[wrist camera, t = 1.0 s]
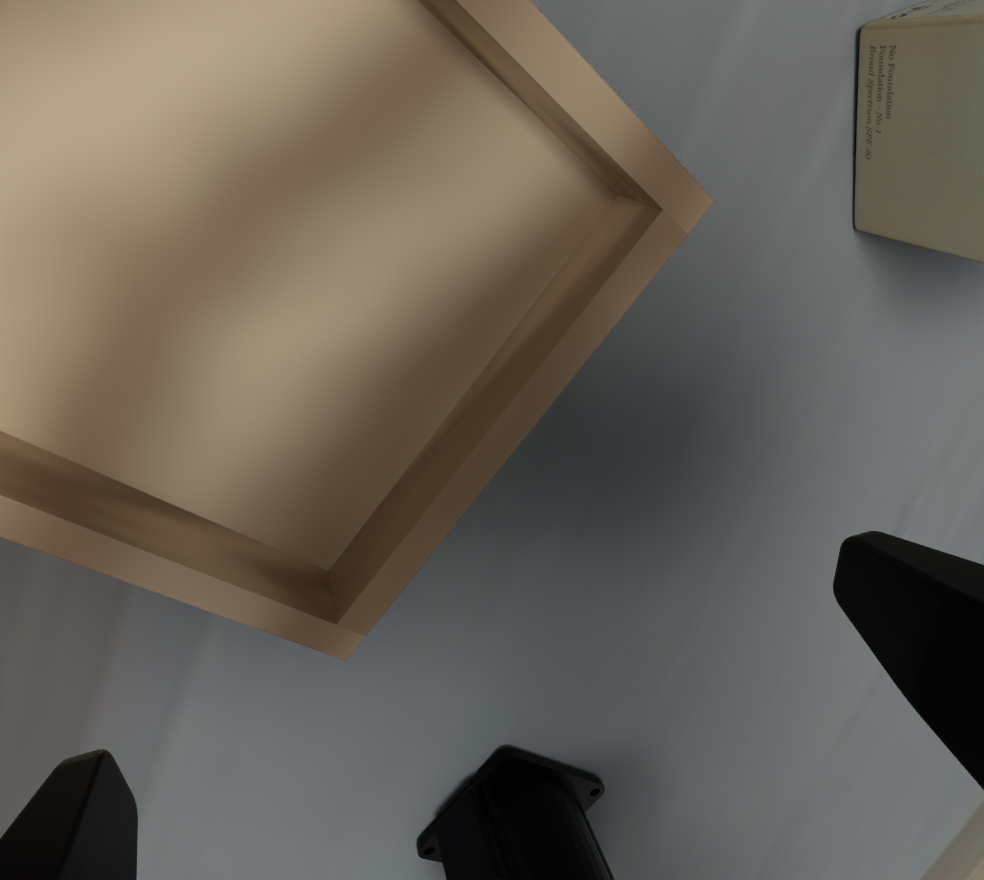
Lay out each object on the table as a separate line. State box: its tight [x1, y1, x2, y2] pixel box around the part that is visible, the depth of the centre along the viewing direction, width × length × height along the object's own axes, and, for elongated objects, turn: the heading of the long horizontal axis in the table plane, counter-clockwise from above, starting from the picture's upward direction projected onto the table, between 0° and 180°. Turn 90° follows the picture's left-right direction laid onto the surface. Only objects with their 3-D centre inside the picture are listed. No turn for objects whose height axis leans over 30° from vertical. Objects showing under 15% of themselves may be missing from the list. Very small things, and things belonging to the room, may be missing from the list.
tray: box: [0, 0, 715, 661], centre depth 16 cm, size 16×16×4 cm
